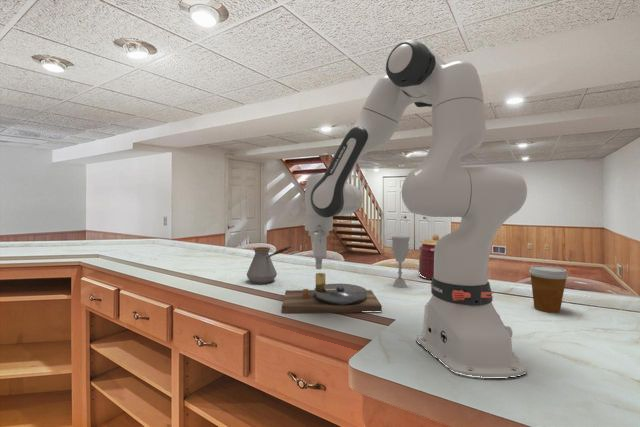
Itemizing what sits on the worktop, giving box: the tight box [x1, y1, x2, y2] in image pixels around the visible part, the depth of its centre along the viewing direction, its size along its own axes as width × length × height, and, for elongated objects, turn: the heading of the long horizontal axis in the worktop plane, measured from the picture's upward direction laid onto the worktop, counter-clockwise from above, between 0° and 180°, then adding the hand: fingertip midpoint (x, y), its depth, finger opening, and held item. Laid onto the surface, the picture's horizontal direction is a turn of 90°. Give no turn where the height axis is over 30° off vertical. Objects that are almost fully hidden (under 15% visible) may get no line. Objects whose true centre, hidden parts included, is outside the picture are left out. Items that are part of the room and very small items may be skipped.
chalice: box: [390, 235, 411, 288], centre depth 123 cm, size 7×7×18 cm
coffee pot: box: [246, 245, 294, 285], centre depth 126 cm, size 21×12×15 cm, turn 51°
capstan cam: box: [313, 272, 368, 305], centre depth 102 cm, size 16×16×7 cm
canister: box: [418, 234, 441, 280], centre depth 137 cm, size 13×13×18 cm
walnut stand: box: [281, 288, 383, 314], centre depth 102 cm, size 16×28×4 cm, turn 92°
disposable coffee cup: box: [528, 265, 569, 314], centre depth 98 cm, size 10×10×12 cm
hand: (318, 268), depth 106 cm, fingers closed
